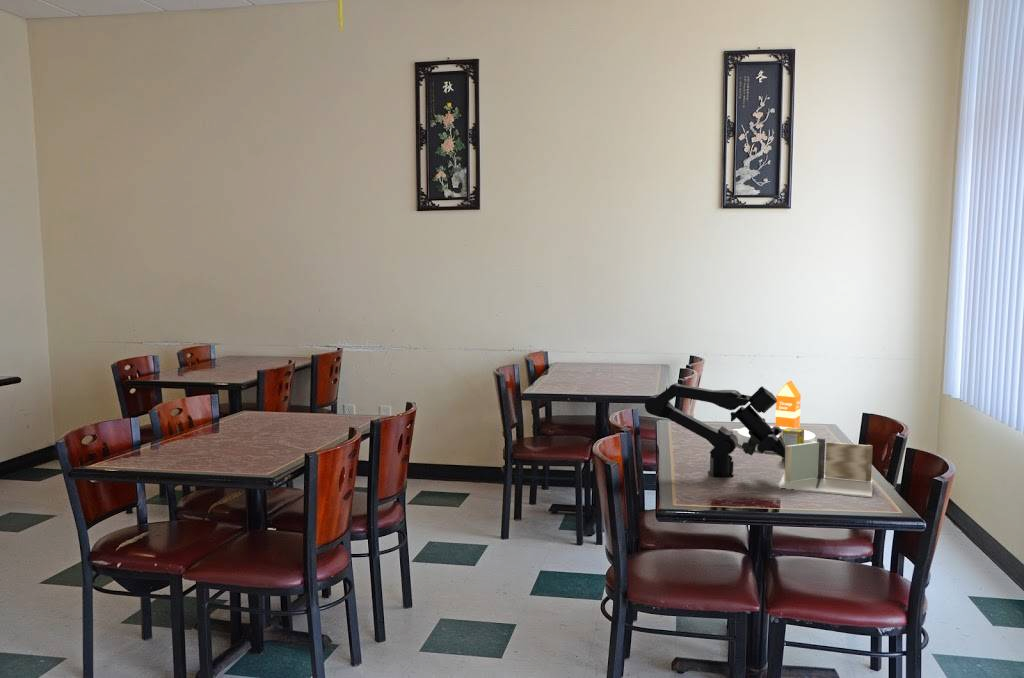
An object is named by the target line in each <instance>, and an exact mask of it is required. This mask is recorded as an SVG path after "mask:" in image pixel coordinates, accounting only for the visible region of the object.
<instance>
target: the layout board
mask: <svg viewBox="0 0 1024 678" xmlns="http://www.w3.org/2000/svg"><path fill="white" fill-rule="evenodd" d="M784 476H785V471H784V472H783V475H782V477H781V479H780V481H779V484H778V485H777V488H778V487H779V488H778V489H781V488H786V489H785V490H791V489H794V491H802V492H811V493H822V494H831V495H841V496H849V497H850V496H851V497H862V498H871V499H872V498H873V481H874V480H873V479H872V478H871V482H867V481H859V480H849V479H838V478H828V477H825V474H824V478H822V479H821V478H810V479H804V480H798V481H791V482H785V481H784Z"/></svg>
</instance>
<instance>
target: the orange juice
mask: <svg viewBox="0 0 1024 678" xmlns="http://www.w3.org/2000/svg"><path fill="white" fill-rule="evenodd" d="M775 397H776V399H777V401H778V402H776V403H775V425H774V426H781V427H791V428H797V429H801V428H800V427H801V425H800V422H801V421H800V420H801V392H800V391H799V390H798V388H797V387H796V385H795V383H794V382H793V380H790V381H787V382H786V383H785V384H784V385H783V386H782V387H781V389H780V390H779V391H778V393H777V394H776V395H775Z"/></svg>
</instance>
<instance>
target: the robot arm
mask: <svg viewBox="0 0 1024 678" xmlns="http://www.w3.org/2000/svg"><path fill="white" fill-rule="evenodd" d="M675 397H678V398H682V399H683V398H684V399H689V400H694V401H701V402H705V403H711V404H714V405H715V406H717V407H720V408H722V409H726V410H728V411H731V412H730V422H734V421H735V420H736V419H737V420H738V421H739V422H740V423H741V424H742V425H743V426H744V428H745V427H746V428H747V429H748V430H749V433H748V434H749V435H750V436H751V437H750V438H749V440H748V442H744V443H743V445H742V446H741V448H742V452H744V454H745V455H747V454H748V455H750V456H753V454H754V453H755V451H757V450H758V451H757V452H759V453H760V454H761V455H762V454H763V453H766V452H765V451H773V452H775V453H774V454H777V455H778V456H779V457H781V459H782V458H784V459H785V444H784V441H783V438H782V435H780V436H779V437H778V438H777V437H776V436H777V435H778V434H779V433H781V432H782V430H781V429H780V428H779V427H778V426H775V425H773V426H774V427H772V428H771V427H770V426H771V425H769V424H768V423H767V422H766V419H765V418H764V417H762V416H761V415H759V414H760V413H763V414H765V413H767V412H768V410H770V409H771V408H772V407H773V406H774V405H776V402H778V401H777V399H776V395H774V394H773V393H772V391H769V390H768V389H766V388H765V387H764V386H763V385H761V386H760V387H759V388H758V389H757V390H756V391H755V392H754V393H753V394H752V395H748V394H743V393H741V392H740V391H738V390H736V389H720V390H719V389H717V390H715V389H714V390H713V389H707V388H702V387H696V386H692V385H691V386H690V385H685V384H680V383H678V382H677V383H672V384H671V385H669V387H668V388H667V389H665V390H664V391H662V392H661V393H660V394H654V395H652V396H650V397H649V398H647V399H646V401H645V402H644V410H645V411H646V412H647V413H648V414H649V415H652V416H654V417H655V416H656V417H658V418H662V419H666V420H669V421H672V422H674V423H676V424H677V425H679V426H681V427H682V428H685V429H686V430H688V431H690V432H693V433H694V434H696V435H698V436H699V437H702V438H703V439H704V440H706V441H708V442H709V444H711V445H712V446H713V448H712V449H711V450H710V451H709V454H710V455H709V470H708V471H707V473H709V475H711V476H712V475H713V477H714V476H715V477H716V478H722V476H731V477H734V476H735V475H734V460H733V457H732V455H731V454H732V453H733V452H734V451H735V449H736V448H737V447H738V445H739V444H738V437H736V436H735V435H734V434H732V433H733V431H732V430H729V429H727V428H726V427H725V426H723V425H722V426H720V427H719V428H714V427H712V426H710V425H708V424H706V423H704V422H702V421H701V420H699V419H697V418H695V417H694V416H691V415H689V414H687V413H685V412H683V411H682V410H680V409H678V408H677V407H675V406H674V405H673V404H672V403H671V402H670V401H672V399H675ZM748 403H749V404H748ZM747 404H748V405H747ZM744 406H746V407H744ZM736 409H737V410H736ZM734 410H736V411H734ZM757 444H758V445H757ZM756 446H757V450H755V448H756ZM773 452H772V453H773ZM715 477H714V478H715Z"/></svg>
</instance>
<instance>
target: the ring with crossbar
mask: <svg viewBox="0 0 1024 678" xmlns="http://www.w3.org/2000/svg"><path fill="white" fill-rule="evenodd" d="M769 426H770V427H771V428H772V427H774V426H775V425H769ZM778 427H779V428H780V429H781V430H782V432H781V433H779V434H778V435H777V436H776V437H777V438H778V437H779V436H780V435H782V433H783V430H784V429H786V428H791V427H781V426H778ZM795 429H797V428H795ZM731 431H733V433H732V434H734V435H735V436H736V437H737V439H738V445H739V446H740V445H741V447H742V445H743V443H744V442H748V440H749V438H750V437H751V436H750V435H749V434H748V433H749V430H748V429H747V428H746V427H745V426H744V427H741V428H733V429H731ZM811 442H816V434H815V433H814V432H811V431H809V430H807V429H804V443H811ZM757 445H758V444H757ZM755 451H757V446H756V448H755ZM764 453H774V454H776V453H775V452H773V451H765V452H764Z"/></svg>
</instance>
